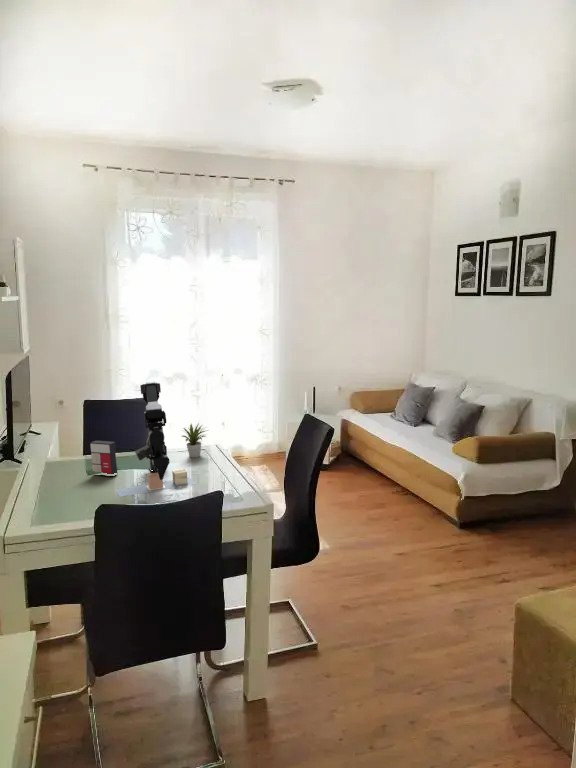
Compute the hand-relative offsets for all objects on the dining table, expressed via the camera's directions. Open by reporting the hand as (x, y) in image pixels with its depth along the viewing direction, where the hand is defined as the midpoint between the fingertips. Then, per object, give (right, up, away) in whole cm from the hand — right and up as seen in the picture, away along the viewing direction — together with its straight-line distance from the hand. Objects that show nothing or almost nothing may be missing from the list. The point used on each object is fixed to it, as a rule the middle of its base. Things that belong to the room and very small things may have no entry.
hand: (159, 476), depth 236 cm
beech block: (+8, -3, +4) cm, 9 cm away
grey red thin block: (-28, -3, +21) cm, 36 cm away
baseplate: (-1, -5, 0) cm, 5 cm away
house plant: (+7, +2, +44) cm, 45 cm away
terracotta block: (-1, -4, 0) cm, 4 cm away
